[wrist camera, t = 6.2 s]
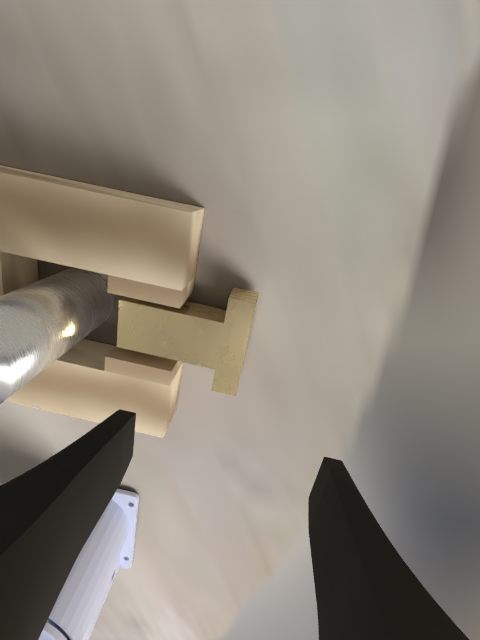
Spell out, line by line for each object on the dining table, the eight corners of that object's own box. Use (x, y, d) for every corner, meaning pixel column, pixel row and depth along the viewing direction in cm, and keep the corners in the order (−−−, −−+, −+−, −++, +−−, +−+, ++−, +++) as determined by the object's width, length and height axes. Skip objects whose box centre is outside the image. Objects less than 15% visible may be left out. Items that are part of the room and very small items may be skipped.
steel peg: (112, 331, 23) (15, 418, 14) (54, 318, 23) (-75, 396, 15) (114, 274, 21) (7, 334, 13) (53, 261, 21) (-93, 311, 13)
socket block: (176, 409, 24) (163, 437, 22) (-10, 366, 25) (-46, 389, 22) (204, 208, 19) (191, 212, 16) (-34, 158, 20) (-86, 154, 17)
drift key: (239, 378, 22) (235, 395, 21) (129, 353, 23) (115, 368, 21) (258, 292, 20) (256, 303, 18) (135, 265, 20) (120, 274, 18)
